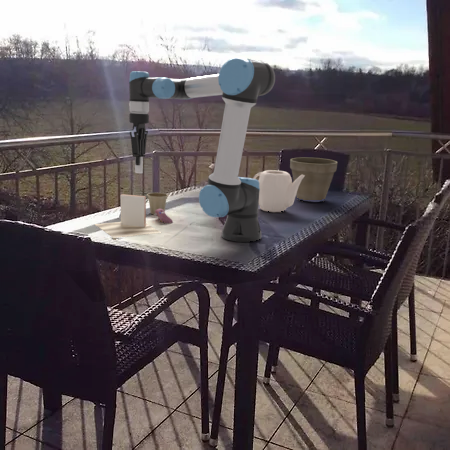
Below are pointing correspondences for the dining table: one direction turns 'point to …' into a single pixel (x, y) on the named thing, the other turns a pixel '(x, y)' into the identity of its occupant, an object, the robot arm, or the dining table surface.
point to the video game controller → (163, 216)
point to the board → (125, 230)
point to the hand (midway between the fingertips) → (138, 173)
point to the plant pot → (313, 176)
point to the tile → (133, 210)
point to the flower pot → (157, 201)
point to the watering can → (277, 190)
